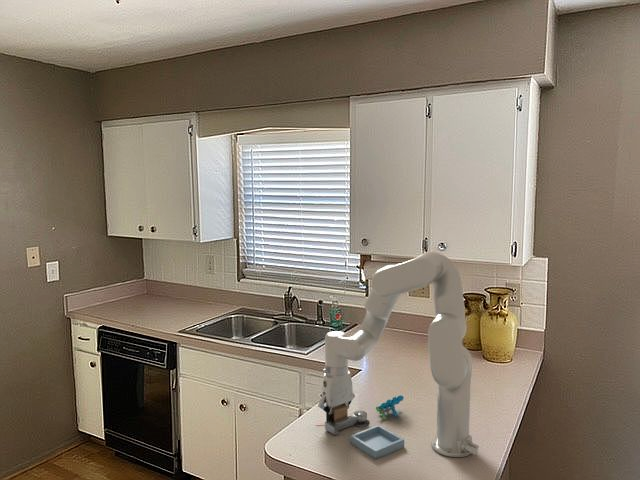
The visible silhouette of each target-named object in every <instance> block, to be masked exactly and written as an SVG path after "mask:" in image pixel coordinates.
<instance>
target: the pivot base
mask: <svg viewBox="0 0 640 480" xmlns="http://www.w3.org/2000/svg"><path fill="white" fill-rule="evenodd" d="M369 424H370V420H369V419H367V422H366V423H365V424H355V425H353V426H355V427H361V428H363V427H367V426H369ZM315 425H316V426H325V423H316V424H315Z"/></svg>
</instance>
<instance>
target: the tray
mask: <svg viewBox="0 0 640 480" xmlns="http://www.w3.org/2000/svg"><path fill="white" fill-rule="evenodd" d="M349 437H350V438H349V439H350V444H351V445H352V446H353V447H355V448H357V449H358V450H360V451H362V452H363V453H365V454H366V455H368V456H370V457H371V458H372V459H374V460H377V459H380V458H383V457H385V456H387V455H389V454H392V453H394V452H396V451H399V450H401V449H404V448H405V439H404V438H403V437H401V436H400V435H397V433H396V434H395V433H394V432H392V431H391V430H388V429H387V428H385V427H383V426H381V425H379V424H377V425H375V426H372V427H370V428H367V429H364V430H362V431H359V432H356V433H354V434H351V435H350V436H349Z"/></svg>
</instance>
